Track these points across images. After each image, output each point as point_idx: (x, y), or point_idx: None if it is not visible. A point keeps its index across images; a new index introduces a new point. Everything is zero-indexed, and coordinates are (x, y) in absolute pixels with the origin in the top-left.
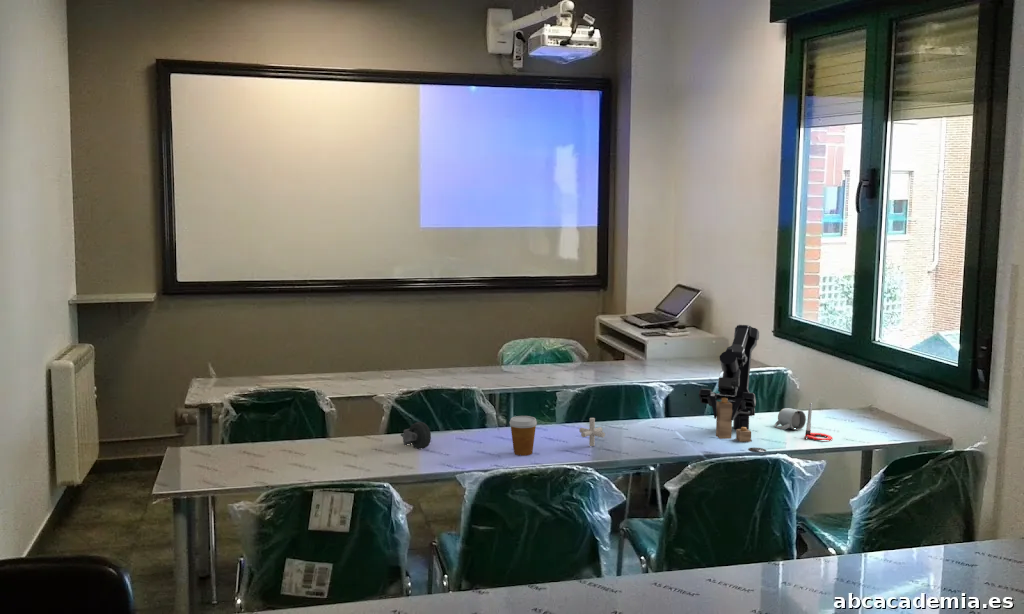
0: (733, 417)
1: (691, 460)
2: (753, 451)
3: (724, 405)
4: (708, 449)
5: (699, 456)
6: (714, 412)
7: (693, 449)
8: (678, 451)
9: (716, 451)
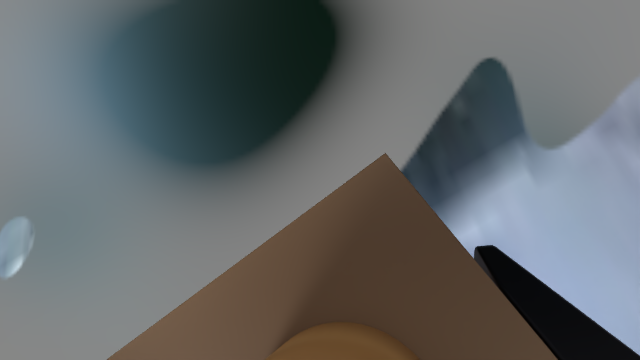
0: None
1: (476, 69)
2: None
3: (303, 226)
4: None
5: (471, 154)
6: (531, 291)
7: (571, 277)
8: (631, 187)
9: None
